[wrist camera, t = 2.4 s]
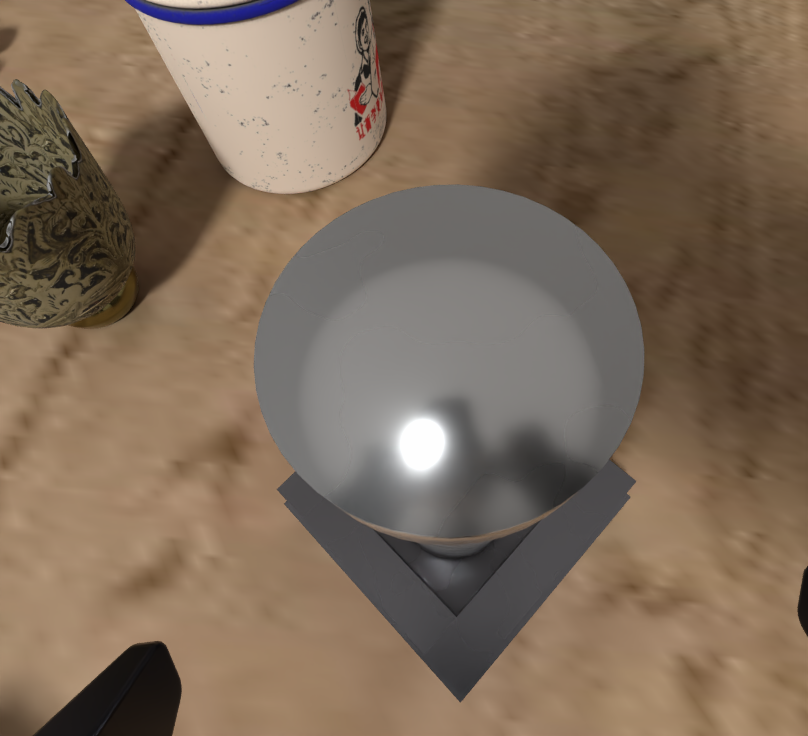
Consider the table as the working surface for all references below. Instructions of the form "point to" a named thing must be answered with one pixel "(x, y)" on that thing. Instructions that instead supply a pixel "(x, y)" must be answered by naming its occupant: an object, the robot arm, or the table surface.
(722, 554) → the table surface
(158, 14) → the teacup with lid
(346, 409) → the silver mushroom peg
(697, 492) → the table surface
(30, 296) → the cup
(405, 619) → the collar
